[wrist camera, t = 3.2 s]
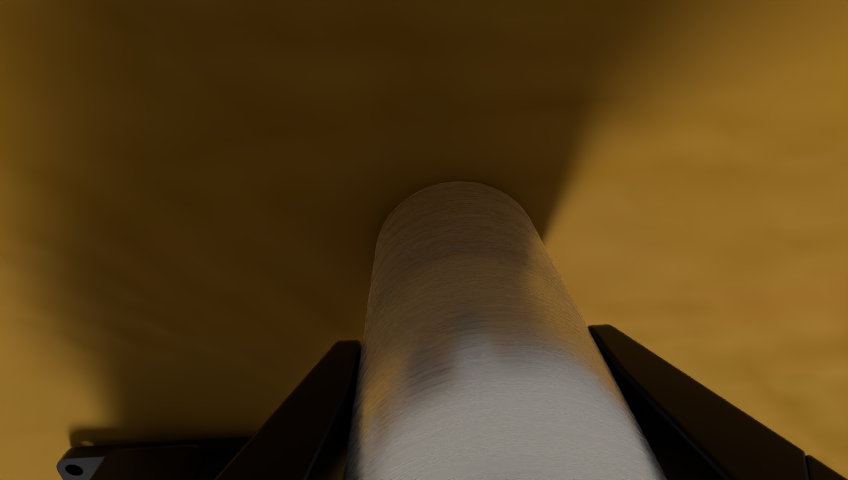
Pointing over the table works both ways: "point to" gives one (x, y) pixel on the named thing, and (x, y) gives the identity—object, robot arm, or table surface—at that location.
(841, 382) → the table surface
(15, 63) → the table surface
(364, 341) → the silver upright cylinder
